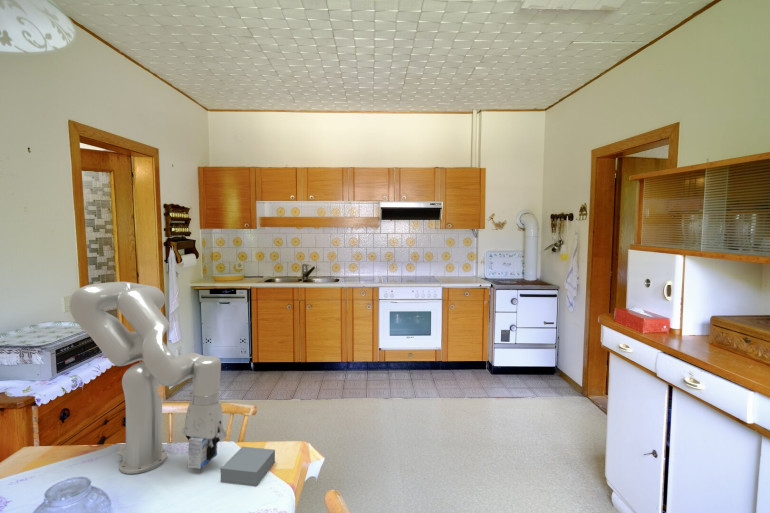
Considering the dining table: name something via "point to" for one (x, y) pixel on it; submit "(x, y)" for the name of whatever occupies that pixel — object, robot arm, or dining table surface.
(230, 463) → the base block
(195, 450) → the medicine box
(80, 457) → the dining table surface
